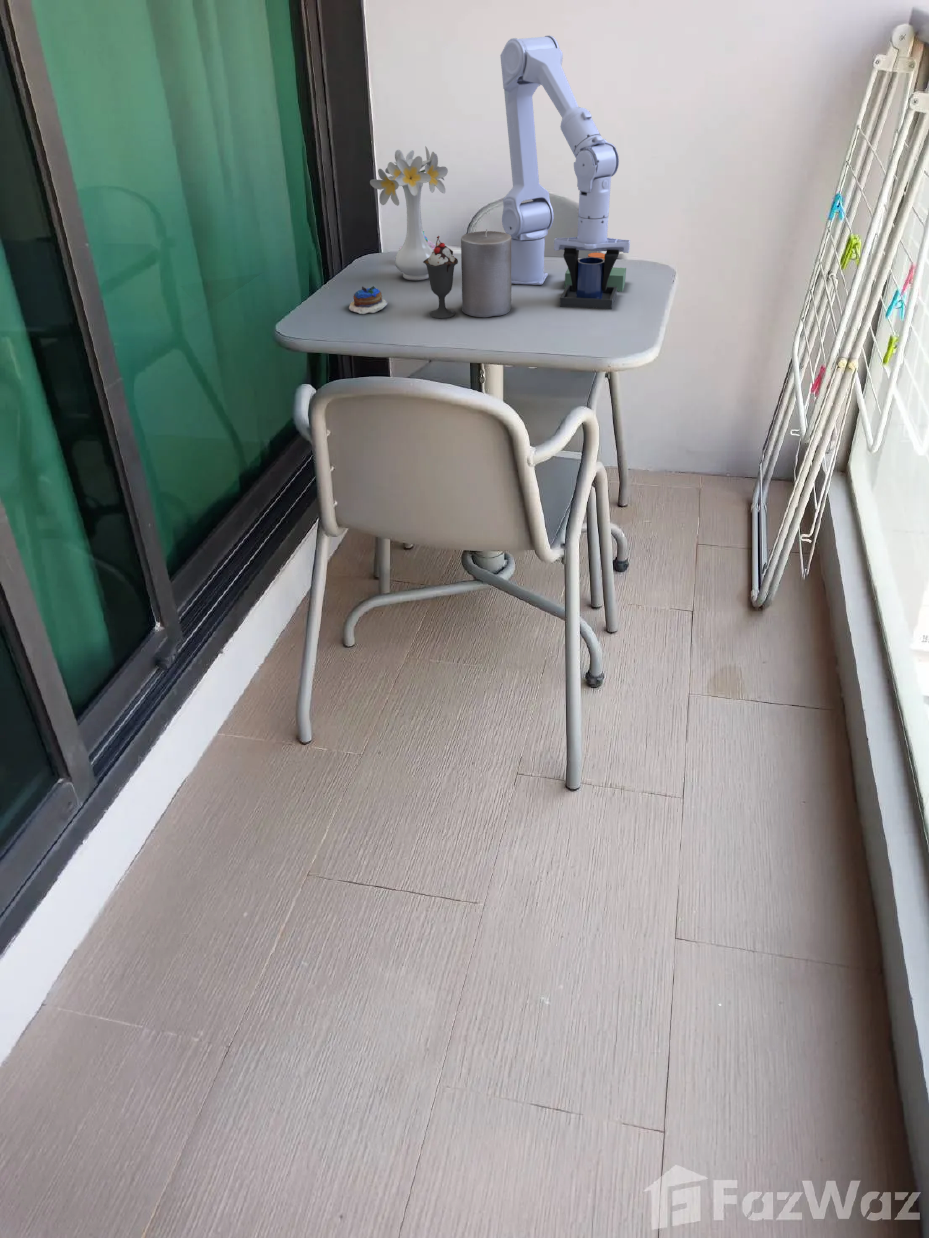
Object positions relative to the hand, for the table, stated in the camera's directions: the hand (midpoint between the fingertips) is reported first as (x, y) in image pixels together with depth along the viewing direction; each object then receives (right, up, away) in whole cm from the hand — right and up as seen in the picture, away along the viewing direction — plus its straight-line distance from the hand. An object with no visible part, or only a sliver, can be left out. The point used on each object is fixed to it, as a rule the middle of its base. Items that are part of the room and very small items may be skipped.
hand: (589, 288), depth 179 cm
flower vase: (-35, +9, +18) cm, 41 cm away
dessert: (-44, -3, +2) cm, 45 cm away
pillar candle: (-21, -5, -2) cm, 21 cm away
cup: (0, -1, +1) cm, 2 cm away
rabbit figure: (-35, +19, +31) cm, 51 cm away
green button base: (+3, +4, +10) cm, 11 cm away
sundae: (-29, -6, -3) cm, 30 cm away
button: (+2, +8, +7) cm, 11 cm away
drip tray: (0, -2, +1) cm, 2 cm away
